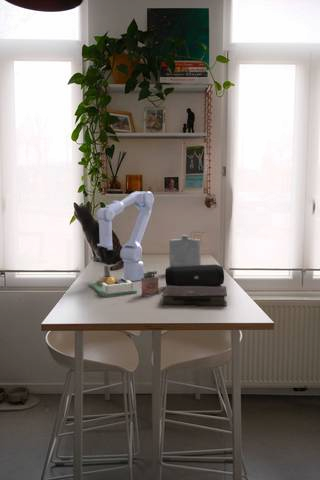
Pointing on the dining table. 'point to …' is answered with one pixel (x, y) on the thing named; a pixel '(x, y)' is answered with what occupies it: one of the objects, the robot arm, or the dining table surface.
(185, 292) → the diary
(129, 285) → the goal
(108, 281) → the ball
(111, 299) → the dining table surface
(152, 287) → the lighter
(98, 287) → the pitch
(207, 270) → the portable speaker
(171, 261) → the hip flask
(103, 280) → the beige block
